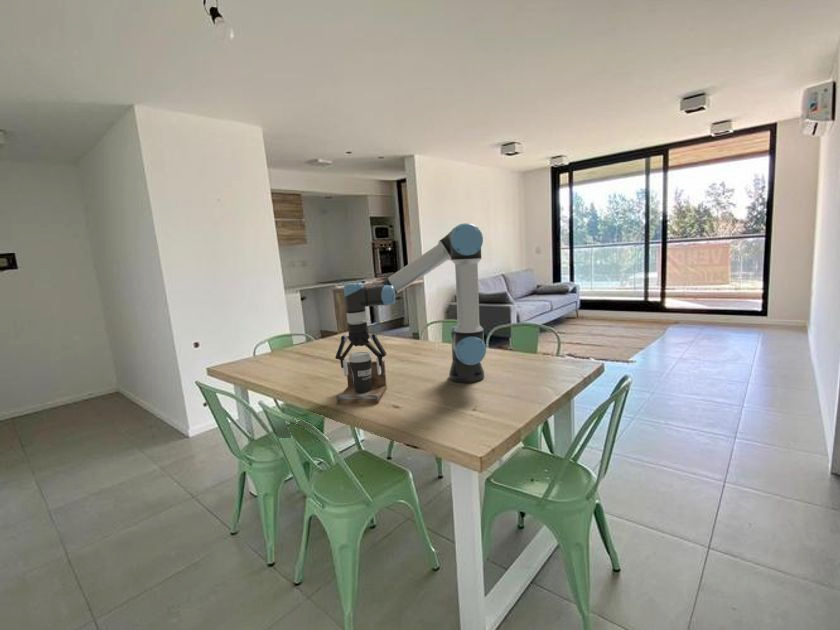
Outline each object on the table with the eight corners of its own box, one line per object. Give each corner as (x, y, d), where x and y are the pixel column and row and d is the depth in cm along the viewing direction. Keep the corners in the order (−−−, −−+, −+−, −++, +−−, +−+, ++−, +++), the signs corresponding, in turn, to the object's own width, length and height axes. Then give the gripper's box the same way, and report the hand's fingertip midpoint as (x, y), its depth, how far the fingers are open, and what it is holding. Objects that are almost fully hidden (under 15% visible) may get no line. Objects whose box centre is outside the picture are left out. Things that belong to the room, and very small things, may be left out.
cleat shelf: (386, 388, 176) (384, 360, 174) (378, 403, 160) (375, 372, 158) (349, 389, 178) (346, 362, 176) (337, 404, 162) (334, 374, 160)
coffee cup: (352, 395, 164) (349, 358, 162) (350, 388, 173) (346, 353, 171) (377, 392, 166) (373, 355, 164) (373, 385, 176) (370, 350, 173)
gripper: (390, 318, 168) (395, 370, 171) (329, 322, 171) (335, 373, 174) (386, 322, 160) (391, 376, 163) (323, 326, 163) (329, 379, 167)
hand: (362, 374), depth 169 cm, fingers open, 13 cm apart
